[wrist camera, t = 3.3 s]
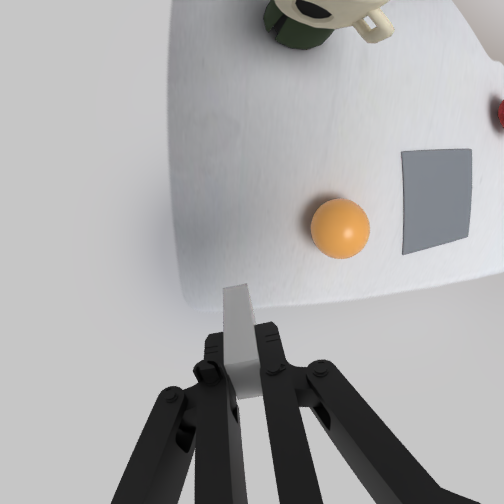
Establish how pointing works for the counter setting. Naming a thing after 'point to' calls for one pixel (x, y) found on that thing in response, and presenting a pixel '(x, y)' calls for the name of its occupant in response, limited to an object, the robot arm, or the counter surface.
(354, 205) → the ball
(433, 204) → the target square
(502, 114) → the onion
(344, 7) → the character mug
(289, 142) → the counter surface
